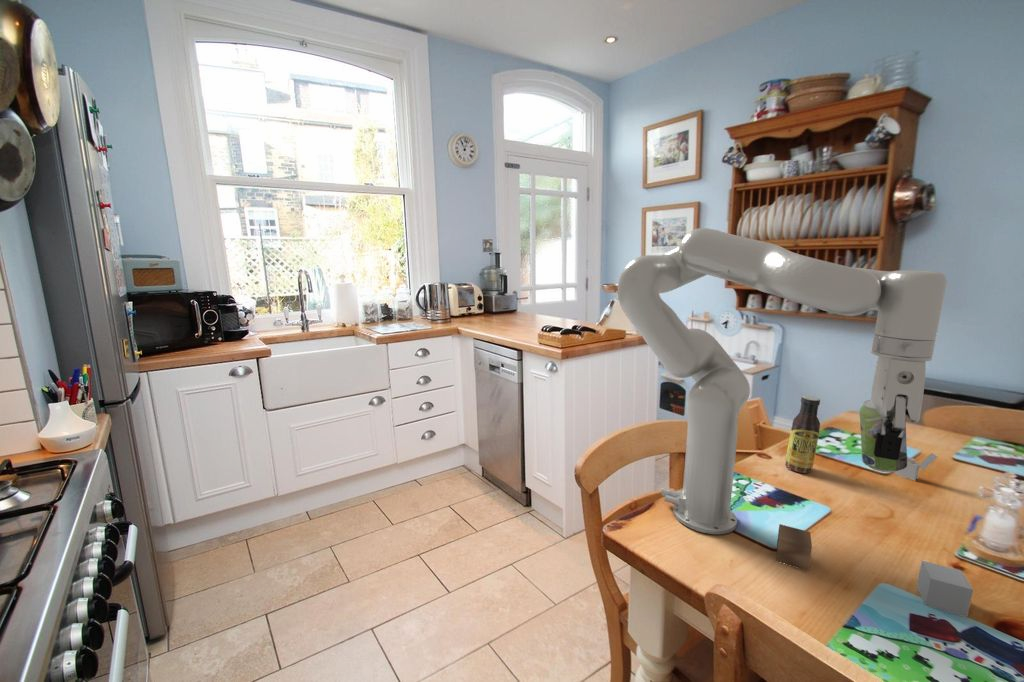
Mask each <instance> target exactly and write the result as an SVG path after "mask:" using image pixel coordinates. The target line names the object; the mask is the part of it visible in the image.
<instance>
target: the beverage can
mask: <svg viewBox="0 0 1024 682" xmlns="http://www.w3.org/2000/svg"><path fill="white" fill-rule="evenodd" d="M862 404H863V405H862V406H861V407H860V408H859V423H860V424H859V425H860V426H859V427H860V444H861V445H860V447H861V462H862V463H863V464H864V465H865V466H867V467H868V468H870V469H872V470H874V471H878V472H881V473H895V472H898V471H900V470H902V469H904V468H906V467H907V457H908V449H907V448H908V447H907V445H908V444H907V422H906V421H907V417H906V418H905V428H904V431H903V437H902V444H901V449H900V454H899V459H898V460H892V459H886V458H881V457H876V456H875V455H874V447H875V442H876V436H877V433H880V426H881V419H882V417H881V416H880V415H879V414H878V412H877V411H876V407H875V406H874V404H873V402H872V400H871V399H868V400H865V401H863V403H862ZM887 414H888V416H890V417H893V414H890V413H887ZM888 423H892V421H887V424H888ZM886 426H887V425H886Z"/></svg>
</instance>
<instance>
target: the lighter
mask: <svg viewBox="0 0 1024 682" xmlns="http://www.w3.org/2000/svg"><path fill="white" fill-rule="evenodd" d="M937 458H938V456H937V455H936V454H934V453H933V452H932V453H930V454H928V456H927V457H925V458H924V459H923V460H922V461H921V462H920V463H918V462H915V460H916V459H915V458H912V457H909V456H907V467H906V468H904V469H902V470H900V471H898V472H894V475H895V474H897V475H900V476H902V477H901V478H903V477H905V478H904V479H906V478H909V479H912V480H916V479H917V480H918V478H919V477H918V476H919V472H920V468H921V469H923V470H925V469H927V468H928V467H929V466H930V465H931V464H933V462H934V461H935V460H937ZM897 475H896V476H897ZM900 476H899V477H900ZM909 479H908V480H909ZM912 480H911V481H912ZM917 480H916V481H917Z"/></svg>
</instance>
